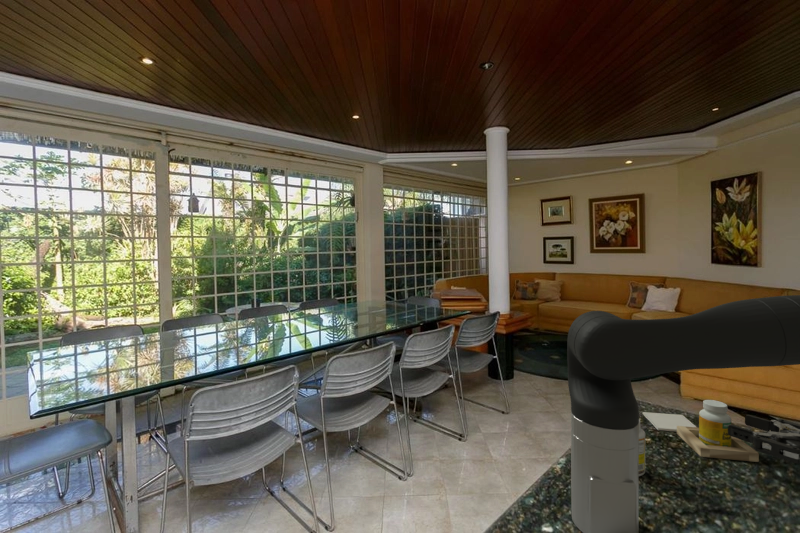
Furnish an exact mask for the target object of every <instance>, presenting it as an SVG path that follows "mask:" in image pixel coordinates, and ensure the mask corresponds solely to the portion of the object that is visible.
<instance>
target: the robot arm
mask: <svg viewBox="0 0 800 533" xmlns="http://www.w3.org/2000/svg"><path fill="white" fill-rule="evenodd" d="M567 333H568V334H567V341H566V342H567V343H566V345H567V346H566V347H567V349H566V350H567V352H566V356H567V384H568V393H569V398H570V410H571V411H570V465H571V466H570V479H571V481H570V485H571V486H570V492H571V493H570V494H571V495H570V496H571V498H570V501H571V502H570V503H571V519H572V520H571V521H572V522H573V523H574V526H576V528H577V529H578V530H579V531H580V532H581V533H640V532H639V526H640V525H639V520H640V519H639V498H640V497H639V494H640V493H639V492H640V491H639V489H640V488H639V487H640V486H639V484H640V483H639V477H640V476H639V419H640V408H639V404H638V401H637V398H636V396H635V393H634V390H633V386H632V381H631V380H633V379H639V378H640V379H641V378H645V377H651V376H656V375H663V374H669V373H676V372H682V371H690V370H691V371H692V370H706V369H707V370H715V369H716V370H717V369H736V368H755V367H764V368H765V367H782V366H794V365H795V366H797V365H800V294H796V295H795V294H793V295H777V296H767V297H758V298H757V297H756V298H748V299H742V300H736V301H729V302H726V303H723V304H718V305H716V306H713V307H710V308H707V309H705V310H702V311H699V312H696V313H694V314H690V315H687V316H680V317H672V318H654V319H650V318H649V319H628V318H627V319H626V318H621V317H619V316H618V315H615V314H613V313H611V312H608V311H603V310H590V311H587V312H583V313H581V314H580V315H578V317H576V318H575V319H574V320H573V322H572V324H571V325H570V327H569V329H568V332H567ZM744 425H745V426H748V427H751V428H754V429H758V430H761V431H763V432H758V431H754V430H751V429H748V428H744V427H741V426H738V425H735V424H732V423H731V425H729V426H728V435H730V436H732V437H735V438H738V439H740V440H742V441H743V442H748V443H750V444H752V446H753V447H752V448H753V449H754V450H755V451H757V452H758V453H759V452H760V453H763V454H766V455H768V456H772V457H775V458H778V459H782V460H784V461H787V462H791V463H793V464H800V424H799V423H797V422H794V421H788V420H786V419H782V418H778V419H777V420H776V419H771V420H768V419H766V418H761V417H758V416H755V415H751V414H746V415H745V416H744Z"/></svg>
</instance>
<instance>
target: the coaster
mask: <svg viewBox="0 0 800 533" xmlns="http://www.w3.org/2000/svg"><path fill="white" fill-rule="evenodd" d="M642 415H643V416H644V417H645V418H646V419H647V421H648V422H649V423H651V425H653V427H655V429H656V430H657V431H664V432H665V431H667V432H675V433H677V426H685V427H697V426H696V425H695V424H694V423H692V422H691V421H690V420H689V419H688V418H687V417H685V416H684V415H683V414H676V413H659V412H645V411H643V412H642Z"/></svg>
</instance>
